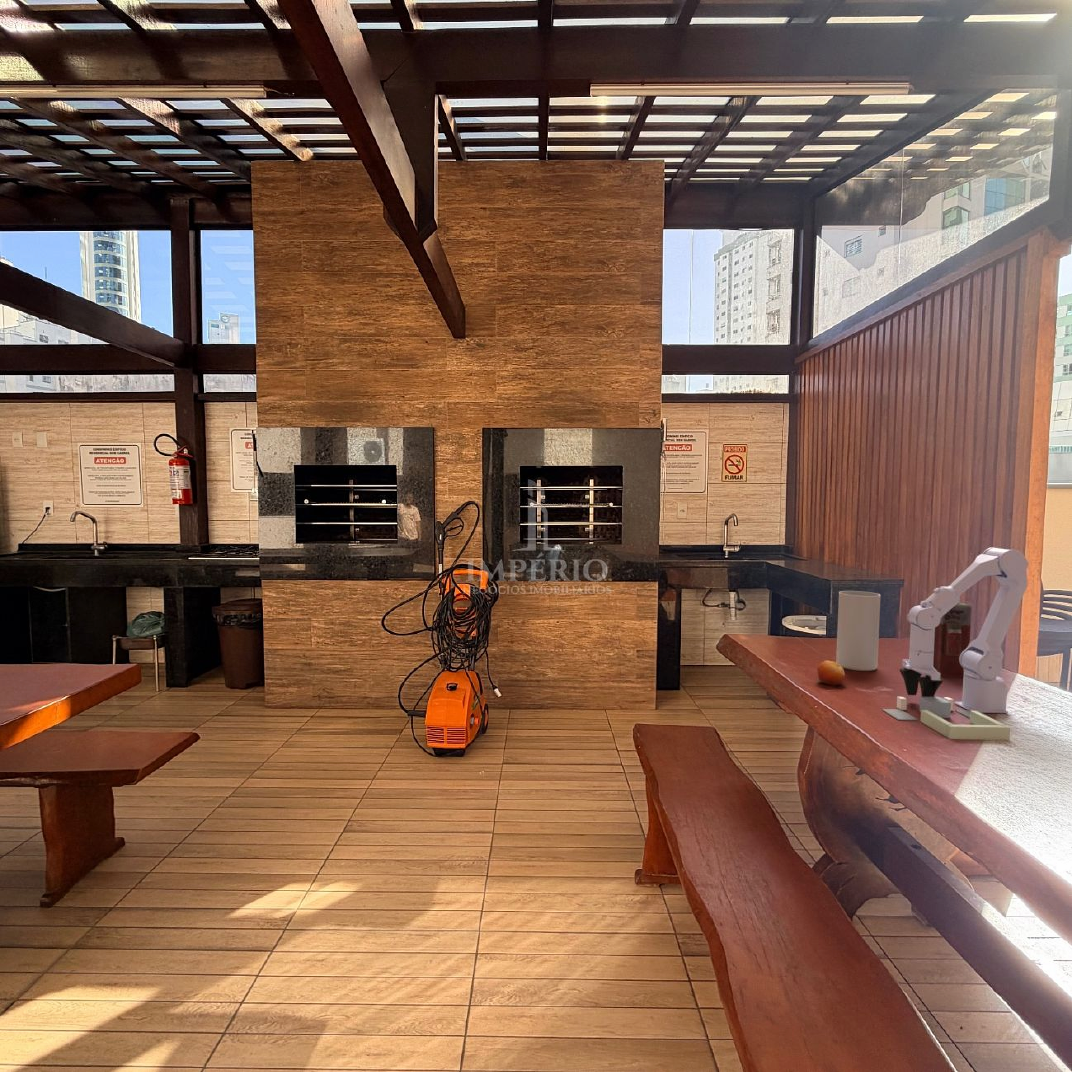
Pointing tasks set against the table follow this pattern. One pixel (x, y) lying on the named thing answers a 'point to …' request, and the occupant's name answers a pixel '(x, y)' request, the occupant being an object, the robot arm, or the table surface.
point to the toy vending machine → (952, 640)
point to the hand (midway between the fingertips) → (919, 699)
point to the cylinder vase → (858, 630)
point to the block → (936, 706)
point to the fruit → (830, 673)
